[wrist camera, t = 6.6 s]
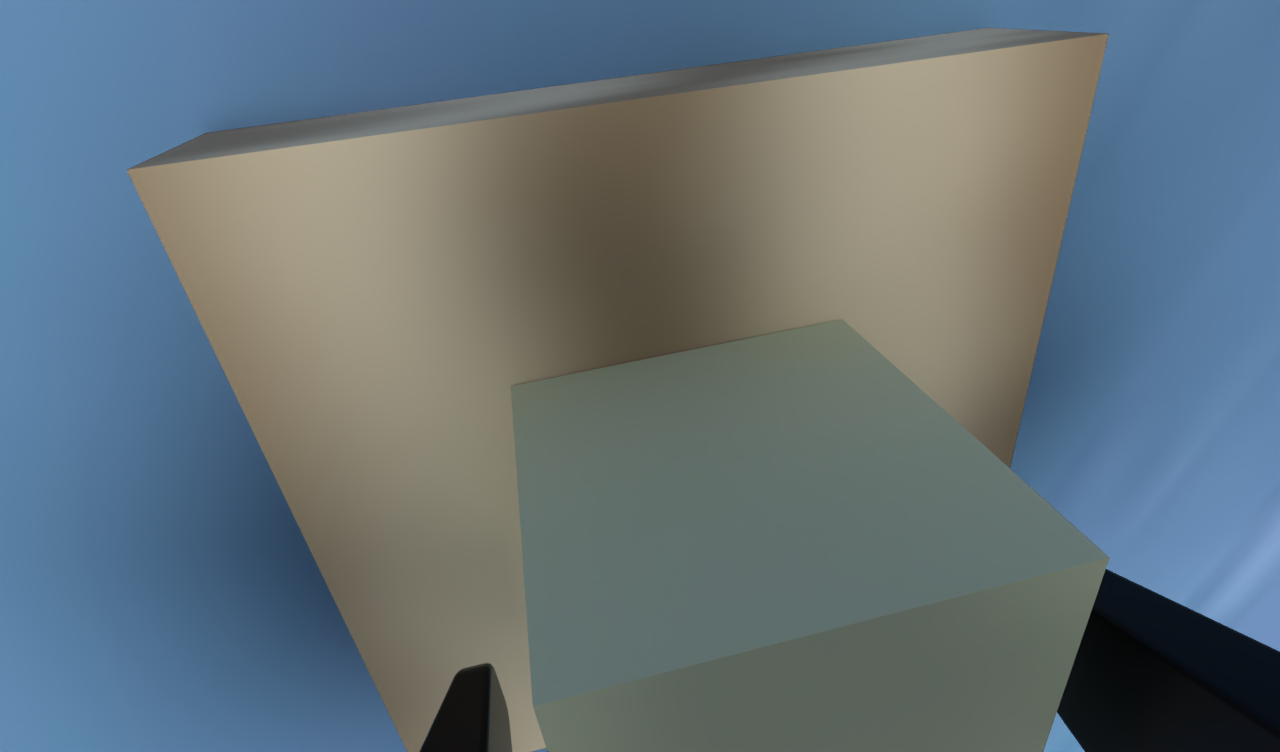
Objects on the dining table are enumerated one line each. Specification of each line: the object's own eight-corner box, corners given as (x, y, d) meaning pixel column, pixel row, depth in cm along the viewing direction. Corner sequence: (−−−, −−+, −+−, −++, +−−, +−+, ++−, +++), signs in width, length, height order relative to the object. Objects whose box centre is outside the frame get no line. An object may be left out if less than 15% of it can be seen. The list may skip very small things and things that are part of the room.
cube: (842, 319, 10) (1110, 557, 6) (831, 557, 13) (1011, 845, 8) (510, 385, 9) (532, 705, 5) (569, 621, 12) (617, 966, 8)
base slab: (967, 26, 11) (1108, 33, 9) (898, 544, 17) (971, 639, 15) (220, 125, 10) (127, 169, 7) (431, 654, 16) (420, 779, 13)
